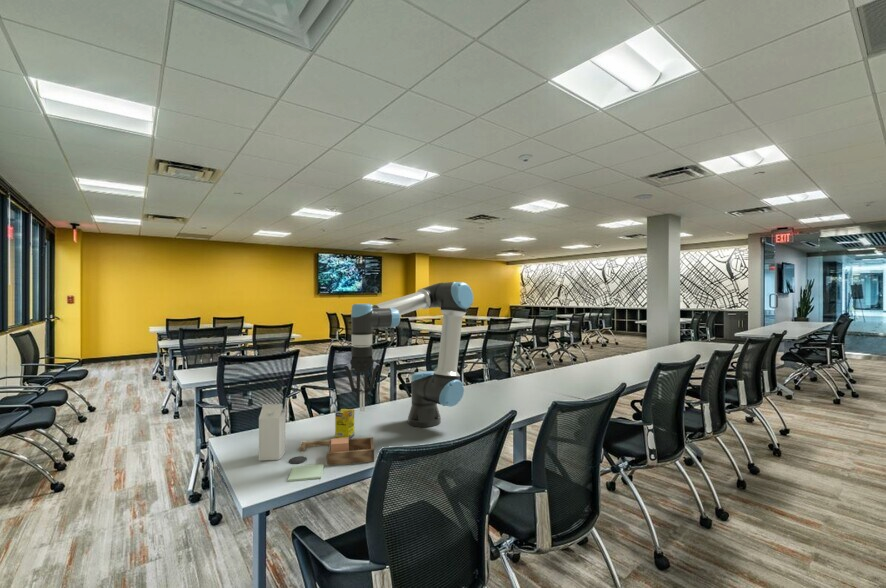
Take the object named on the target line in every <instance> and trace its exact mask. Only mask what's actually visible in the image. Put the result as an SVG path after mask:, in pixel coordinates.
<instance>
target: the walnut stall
mask: <svg viewBox="0 0 886 588" xmlns="http://www.w3.org/2000/svg"><path fill="white" fill-rule="evenodd" d="M329 440H330V445H329V452H326V466H335V465H336V466H337V465H346V464H358V463H370V462H371V463H372V462H374V461H375V448H374V447H375V444H374V437H373V436H371V437H359V438H357V437H356V438H350V439H349V451H341V452H331V440H332V439H329Z"/></svg>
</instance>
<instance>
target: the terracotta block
mask: <svg viewBox="0 0 886 588" xmlns="http://www.w3.org/2000/svg"><path fill="white" fill-rule="evenodd" d="M330 440H331V452H341V451H349V437H346V438H334V437H333V438H331V439H330Z"/></svg>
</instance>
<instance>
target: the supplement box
mask: <svg viewBox="0 0 886 588" xmlns="http://www.w3.org/2000/svg"><path fill="white" fill-rule="evenodd" d="M334 416H335V420H334V421H335V423H334V425H335V426H334V427H335V435H334V436H335V438H346V437H349V439H352V438H353V437H354V436H355V409H348V408H341V409H339V410H338V411H336V412H335V413H334Z"/></svg>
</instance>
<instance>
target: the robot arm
mask: <svg viewBox="0 0 886 588" xmlns="http://www.w3.org/2000/svg"><path fill="white" fill-rule="evenodd" d="M473 303H474V292H473V290H472V289H471V287H470V285H469V284H468V283H466V282H463V281H454V282H453V281H451V282H448V281H447V282H437V283H433V284H432V285H431V284H430V285H429V286H426V287H423V288H419V289H418V290H417V291H416V292H414V293H410V294H407V295H404V296H400V297H395V298H393V299H390V300H387V301H384V302H380V303H377V304H372V303H354V304H352V306H351V311H350V312H351V313H350V317H351V319H350V320H351V337H350V338H351V346H352V347H351V359H350V360H349V361H350V362H349V363H347V364H344V367H343V368H344V370H345V371H346V373H347V377H348V382H349V386H350V390H351V392H352V393H355V394H356V402H357V403H358V402H359V412H365V408H366V406H365V405H366V404H365V403H366V402H368V400H369V392H372V391H373V390H374V386H375V382H376V381H375V380H376V376H377V372H378V370H379V368H380V367H381V366H380V363H377V362H376V361H375V360H374V358H373V346H372V345H373V331H374V329H385V328H386V329H388V328H390V329H391V328H396V327H398V326H399V324H400V322H401V316H402V315H405V314H409V313H412V312H414V311H417V310H420V309H422V310H427V309H433V308H440V309H439V310H440V313H442V315H443V316H442V325H441V331H440V332H441V333H440V342H439V343H440V344H439V350H438V351H439V353H438V361H437V368H436V369H435V370H427V371H426V370H425V371H418V372H417V371H416V372H414V373H413V374H412V375H411V381H410V386H411V407H410V410H409V412H408V417H407V424H408V425H409V426H412V427H417V428H429V427H434V426H438V425H440V424H441V420H442V418H441V414H440V410H439V408H438V405H441V406H443V407H449V408H450V407H454V406H457V405H458V404H459V402H461V400H462V399H463V396H464V392H465V386H464V384H463V382H462V381H461V380H460V378H461V375H460V373H459V372H458V364H459V354H460V345H461V336H462V334H461V333H462V325H463V317H464V316H465V315H466V314H467V312H468V311H467V309H469V308H470V307H471V306H472V304H473ZM352 368H353V369H354V371H356V387H355V383H354V382H355V381H354V379H353V378H354V377H353V374H352V371H351V370H352ZM371 368H373V369H372V373H371V379H370V384H368V383H369V382H368V381H369V380H368V372H369V370H370V369H371ZM361 372H363V374H364V375H363V378H364V379H363V380H364V381H363V383H364V384H363V385H364V386H363V387H364V388H363V389H364V391H361ZM368 385H369V386H368Z"/></svg>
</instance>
